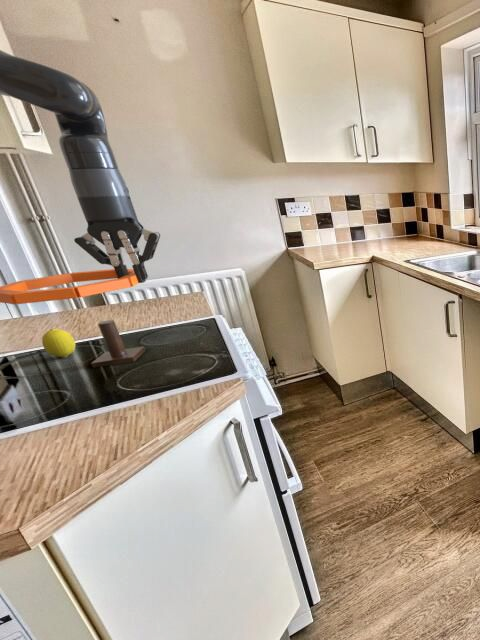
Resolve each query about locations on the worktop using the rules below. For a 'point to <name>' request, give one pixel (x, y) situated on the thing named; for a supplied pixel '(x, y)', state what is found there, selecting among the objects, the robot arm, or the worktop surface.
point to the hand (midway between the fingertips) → (135, 282)
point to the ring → (21, 295)
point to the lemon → (58, 343)
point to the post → (115, 347)
